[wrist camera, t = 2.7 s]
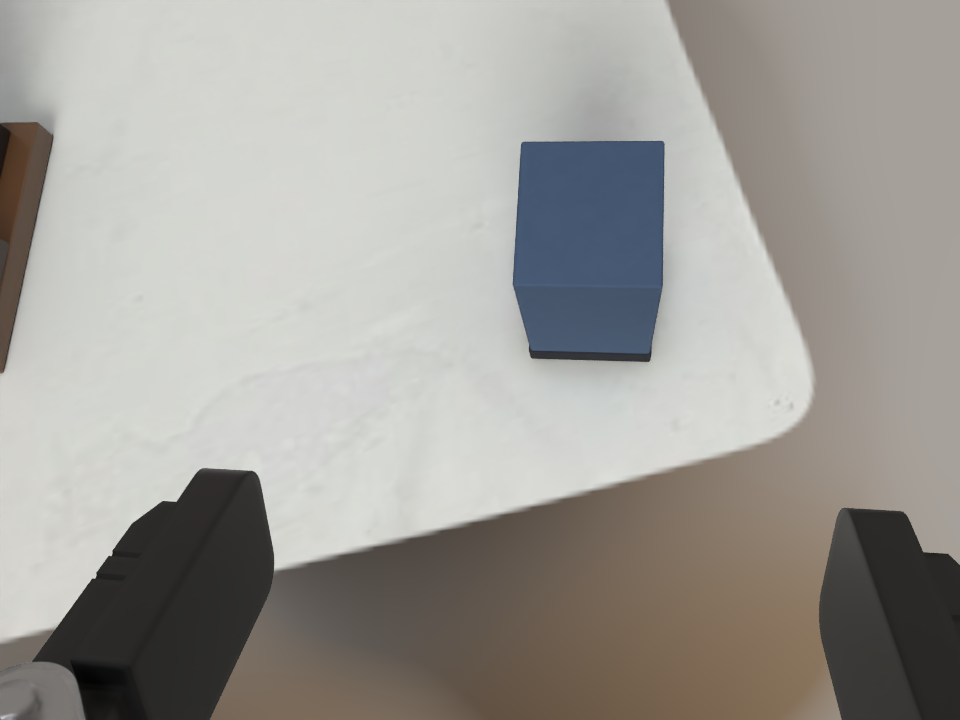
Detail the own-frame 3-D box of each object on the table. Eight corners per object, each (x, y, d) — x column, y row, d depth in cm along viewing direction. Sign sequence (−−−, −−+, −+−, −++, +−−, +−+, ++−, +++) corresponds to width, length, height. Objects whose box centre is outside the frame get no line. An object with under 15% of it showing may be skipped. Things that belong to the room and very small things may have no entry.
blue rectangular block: (651, 241, 35) (666, 138, 27) (649, 362, 34) (664, 290, 26) (537, 240, 35) (519, 139, 28) (530, 358, 34) (510, 287, 26)
